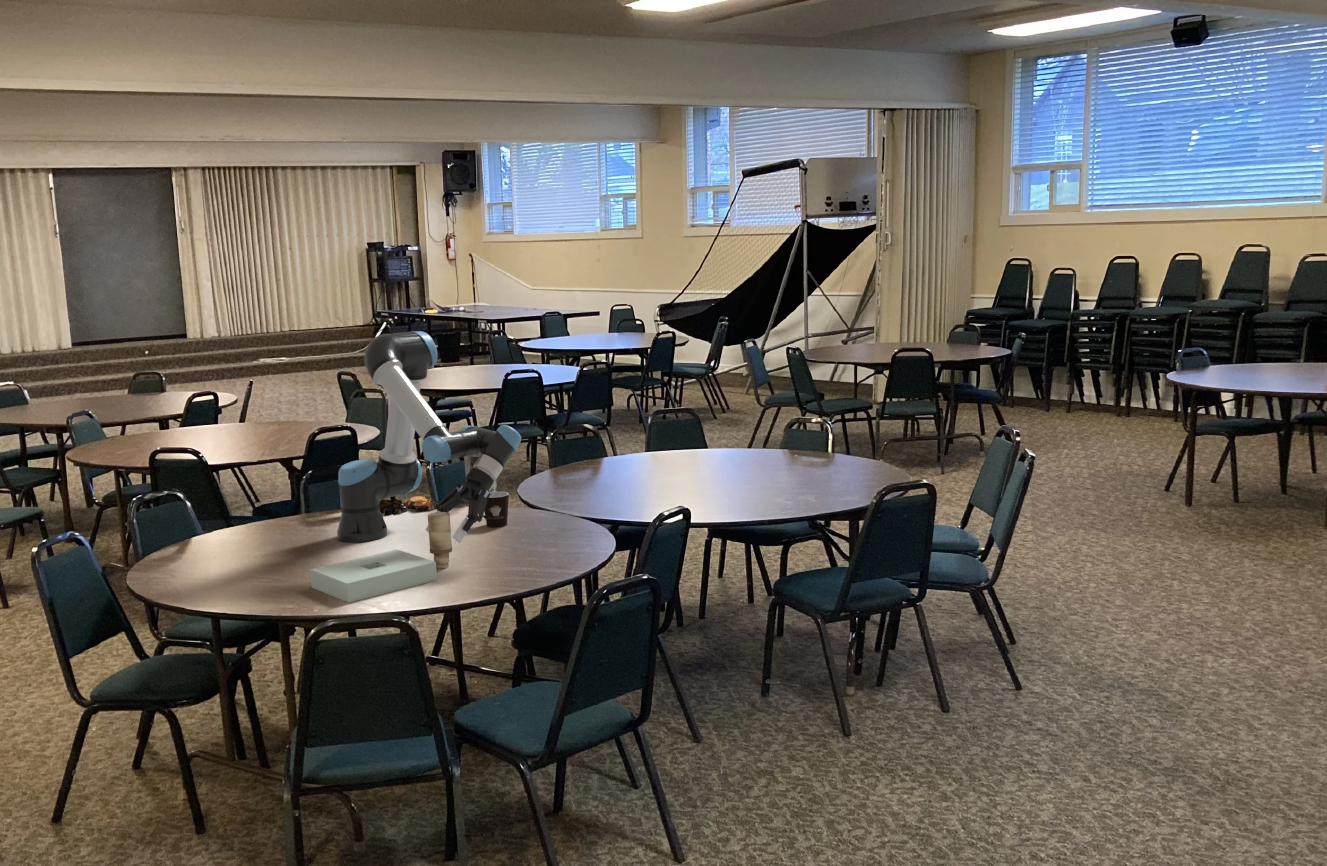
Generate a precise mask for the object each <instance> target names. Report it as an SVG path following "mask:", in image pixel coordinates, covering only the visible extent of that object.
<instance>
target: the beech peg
mask: <svg viewBox="0 0 1327 866" xmlns="http://www.w3.org/2000/svg"><path fill="white" fill-rule="evenodd" d="M427 523H428V524H427V526H428V528H429V533H428V539H429V540H428V541H429V553H430V554H432V555H433V561H435V562H436V570H437V569H438V570H439V569H441V570H442V569H447V568H449V567H450V565H449V564H450V563H449V562H450V553H451V552H453V542H452V529H451V528H452V527H451V515H450V512H437V511H434V512H430V513H428V514H427Z"/></svg>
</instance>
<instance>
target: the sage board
mask: <svg viewBox="0 0 1327 866" xmlns="http://www.w3.org/2000/svg"><path fill="white" fill-rule="evenodd" d="M309 572H310V585H311V589H314V590H316V591H319V592H321V593H324V594H326V595H329V596H332V597H333V598H336V599H339V600H341V601H343V602H346V603H353V602H356V601H360V600H365V599H369V598H371V597H376V596H379V595H380V596H381V595H383V594H384V595H385V594H388V593H391V592H396V591H399V590H403V589H407V588H412V587H414V586H419V585H423V584H426V583H427V584H428V583H431V582H434V581H437V580H438V575H437V573H438V572H437V568H436V562H435V561H434V560H431V559H428V558H425V557H421V556H419V555H416V554H412V553H410V552H407V551H404V550H401V549H394V550H393V549H392V550H390V551H389V550H387V551H384V552H380V553H376V554H370V555H366V556H363V557H358V558H353V559H349V560H345V561H341V562H337V563H331V564H327V565H323V566H319V567H314V568H311V569H309Z"/></svg>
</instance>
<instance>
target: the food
mask: <svg viewBox="0 0 1327 866" xmlns="http://www.w3.org/2000/svg"><path fill="white" fill-rule="evenodd" d="M437 503H438V502H436V501H435V499H433V498H431V497H430V496H429V495H424V496H420V495H419V496H413V497H411V498H410V497H409V499H407V501H404V502H403V501H402V500H401V499H379V505H380V512H381V514H382V516H383V517H389V516H392V515H394V516H399V515H402V514H404V513H407V512H408V509H414V513H421V512H430V511H437V509H436V508H435V505H436V504H437ZM405 506H406V507H405Z"/></svg>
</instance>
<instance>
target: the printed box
mask: <svg viewBox="0 0 1327 866" xmlns="http://www.w3.org/2000/svg"><path fill="white" fill-rule="evenodd" d="M479 457H480V454H475V455H470V456H465V457H463V459H464V460H463V462H464V472H465V474H464V476H465V477H466V476H467V474H468V473H469V471H470V470H471V469H472V468H474V466H473V465H474V464H475V462H476V461H477V459H478V458H479ZM466 483H467V480H466V479H465V484H466ZM488 492H498V487H497V479H496V480H494V483H493V485H492V486H491V488H490V490H489V491H488Z"/></svg>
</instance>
